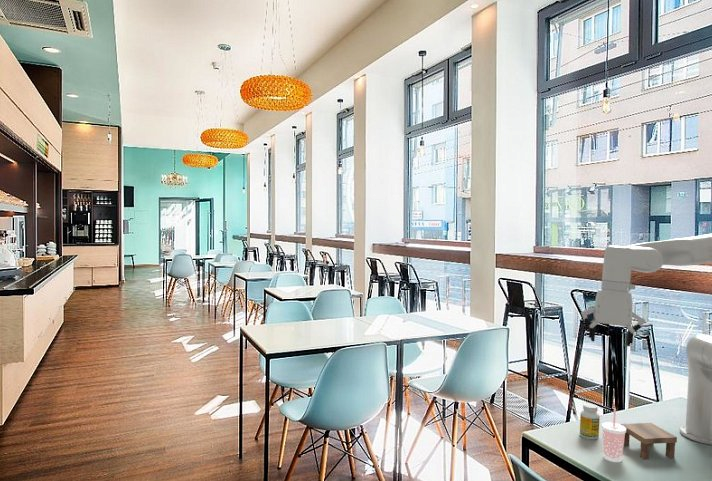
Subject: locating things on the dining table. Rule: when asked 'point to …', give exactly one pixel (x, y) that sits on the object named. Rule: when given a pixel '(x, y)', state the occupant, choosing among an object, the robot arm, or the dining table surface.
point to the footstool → (650, 438)
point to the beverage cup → (613, 440)
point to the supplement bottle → (589, 421)
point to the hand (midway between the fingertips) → (609, 342)
